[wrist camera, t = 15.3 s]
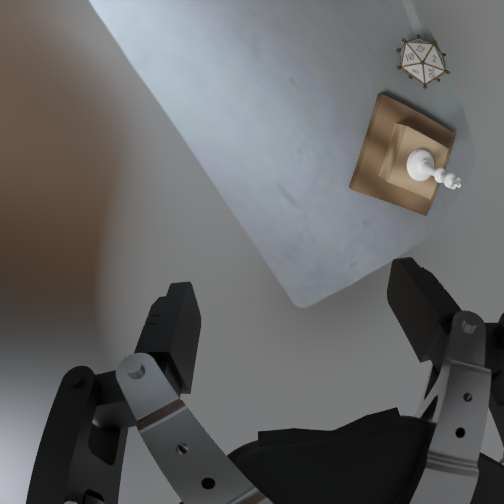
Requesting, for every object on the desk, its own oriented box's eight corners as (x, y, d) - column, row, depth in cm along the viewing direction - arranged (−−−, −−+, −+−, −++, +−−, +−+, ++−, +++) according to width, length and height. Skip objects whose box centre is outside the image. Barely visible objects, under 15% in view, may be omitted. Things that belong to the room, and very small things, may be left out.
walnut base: (378, 94, 35) (393, 94, 31) (450, 133, 37) (468, 138, 33) (348, 187, 43) (359, 197, 38) (422, 212, 45) (436, 224, 40)
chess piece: (436, 165, 35) (477, 186, 27) (417, 186, 37) (455, 212, 28) (420, 142, 34) (462, 158, 25) (400, 164, 36) (439, 185, 27)
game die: (408, 67, 35) (457, 91, 30) (381, 79, 34) (435, 105, 29) (408, 23, 28) (462, 44, 22) (379, 29, 27) (441, 51, 22)
